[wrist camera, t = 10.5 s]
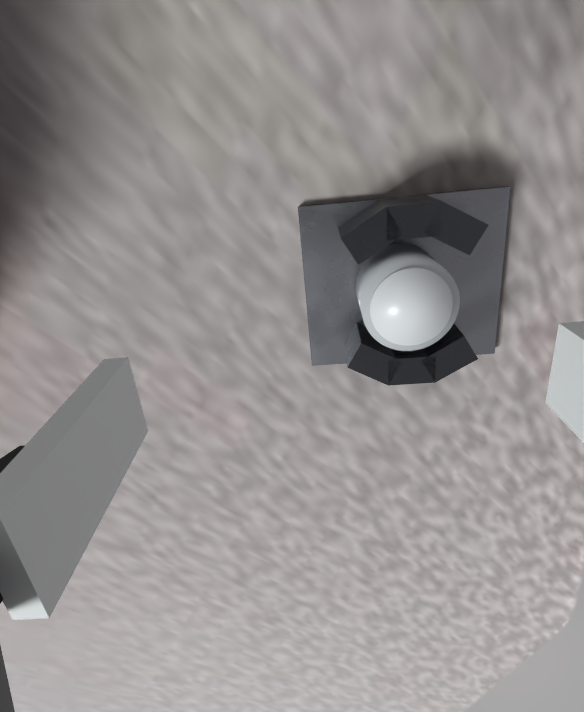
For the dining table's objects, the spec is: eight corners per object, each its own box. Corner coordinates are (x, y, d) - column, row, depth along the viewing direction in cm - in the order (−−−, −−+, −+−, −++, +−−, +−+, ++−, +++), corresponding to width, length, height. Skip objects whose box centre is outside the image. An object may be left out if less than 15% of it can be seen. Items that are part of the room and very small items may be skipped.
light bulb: (357, 326, 34) (363, 355, 29) (354, 247, 31) (360, 264, 27) (438, 321, 33) (458, 349, 29) (441, 239, 31) (464, 255, 26)
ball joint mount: (312, 362, 36) (311, 390, 32) (298, 206, 31) (295, 215, 27) (491, 350, 35) (515, 377, 31) (507, 186, 30) (538, 191, 26)
